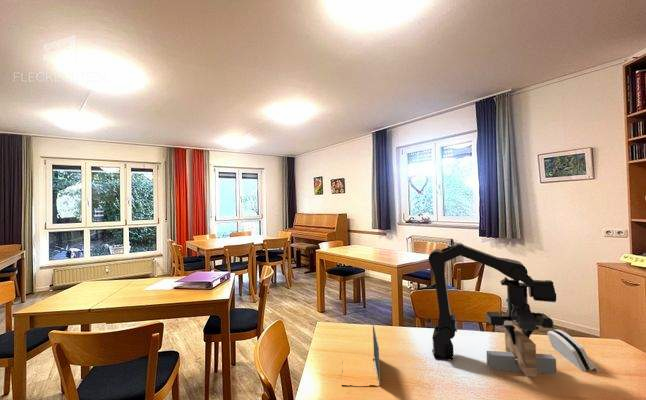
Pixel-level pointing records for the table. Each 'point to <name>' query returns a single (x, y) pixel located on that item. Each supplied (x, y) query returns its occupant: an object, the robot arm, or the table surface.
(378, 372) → the laptop
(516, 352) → the walnut slat
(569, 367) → the table surface
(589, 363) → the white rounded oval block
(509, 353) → the notched gray bar
